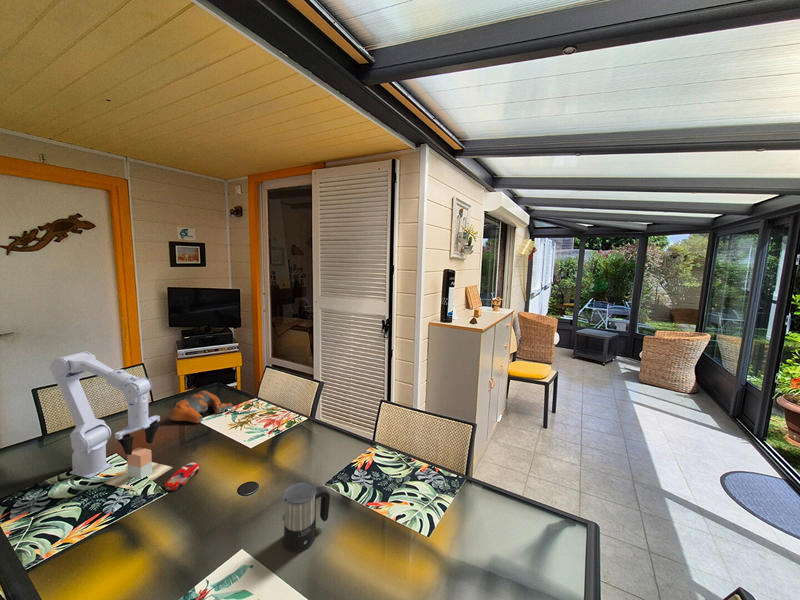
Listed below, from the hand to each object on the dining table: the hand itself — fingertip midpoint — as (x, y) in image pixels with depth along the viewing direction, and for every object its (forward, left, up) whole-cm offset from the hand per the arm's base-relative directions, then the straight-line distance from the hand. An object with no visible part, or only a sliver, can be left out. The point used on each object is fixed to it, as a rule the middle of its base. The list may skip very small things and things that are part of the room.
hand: (139, 448), depth 119 cm
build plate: (0, 0, -10) cm, 10 cm away
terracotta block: (0, 0, -6) cm, 6 cm away
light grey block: (0, 0, -10) cm, 10 cm away
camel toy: (-17, +45, -11) cm, 49 cm away
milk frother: (+67, -5, -11) cm, 68 cm away
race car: (+16, +3, -11) cm, 20 cm away
